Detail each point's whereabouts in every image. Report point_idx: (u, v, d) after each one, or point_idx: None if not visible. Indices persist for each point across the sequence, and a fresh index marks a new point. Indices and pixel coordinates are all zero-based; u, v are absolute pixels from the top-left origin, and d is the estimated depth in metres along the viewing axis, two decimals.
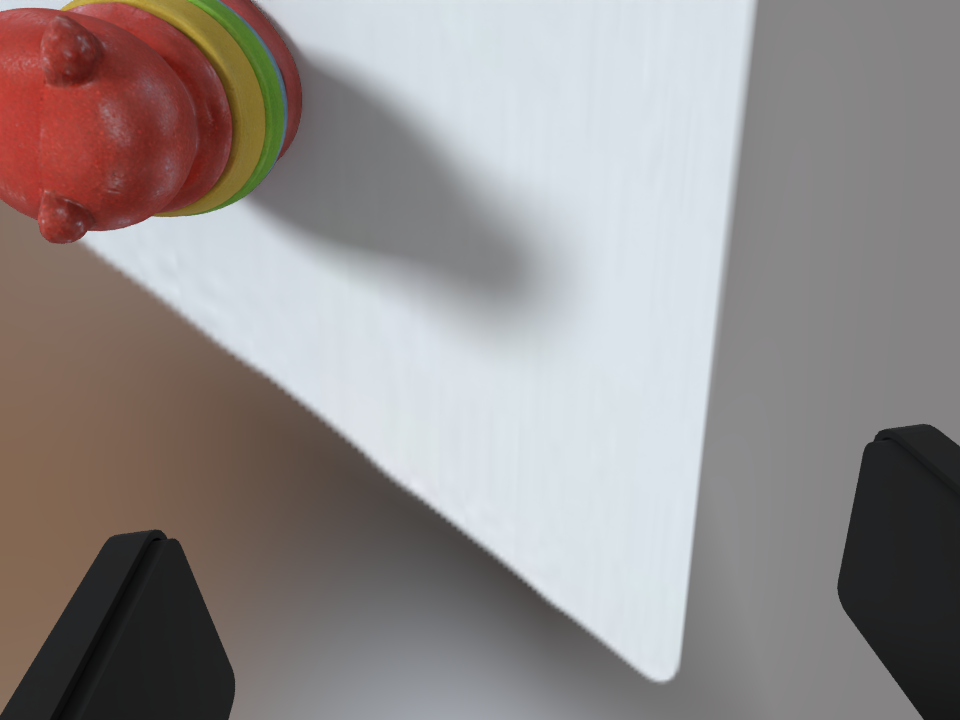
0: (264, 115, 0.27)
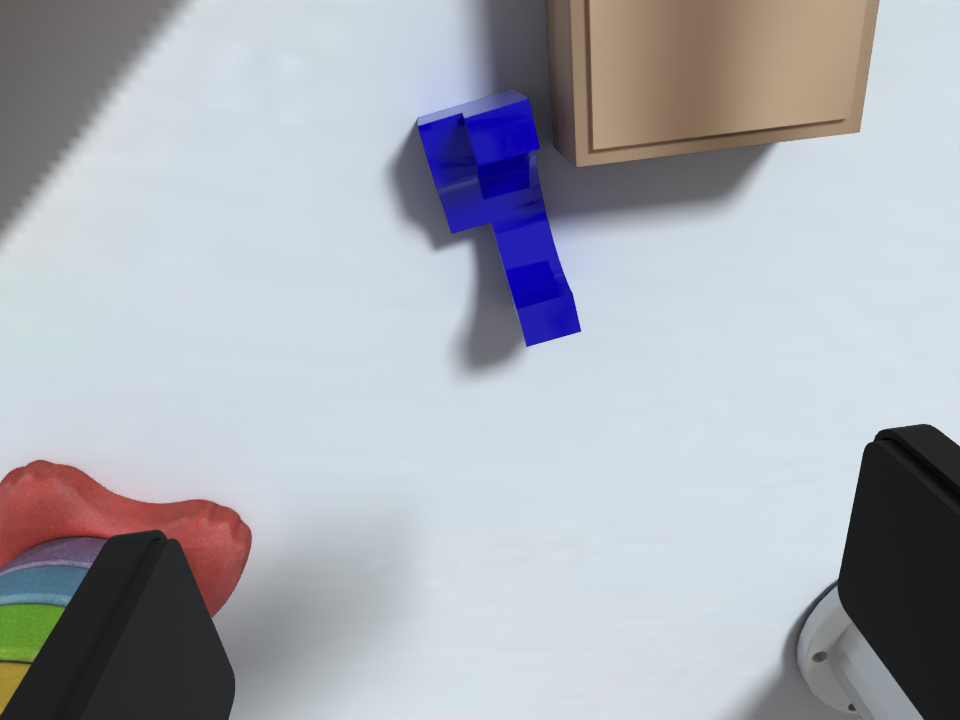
0: None
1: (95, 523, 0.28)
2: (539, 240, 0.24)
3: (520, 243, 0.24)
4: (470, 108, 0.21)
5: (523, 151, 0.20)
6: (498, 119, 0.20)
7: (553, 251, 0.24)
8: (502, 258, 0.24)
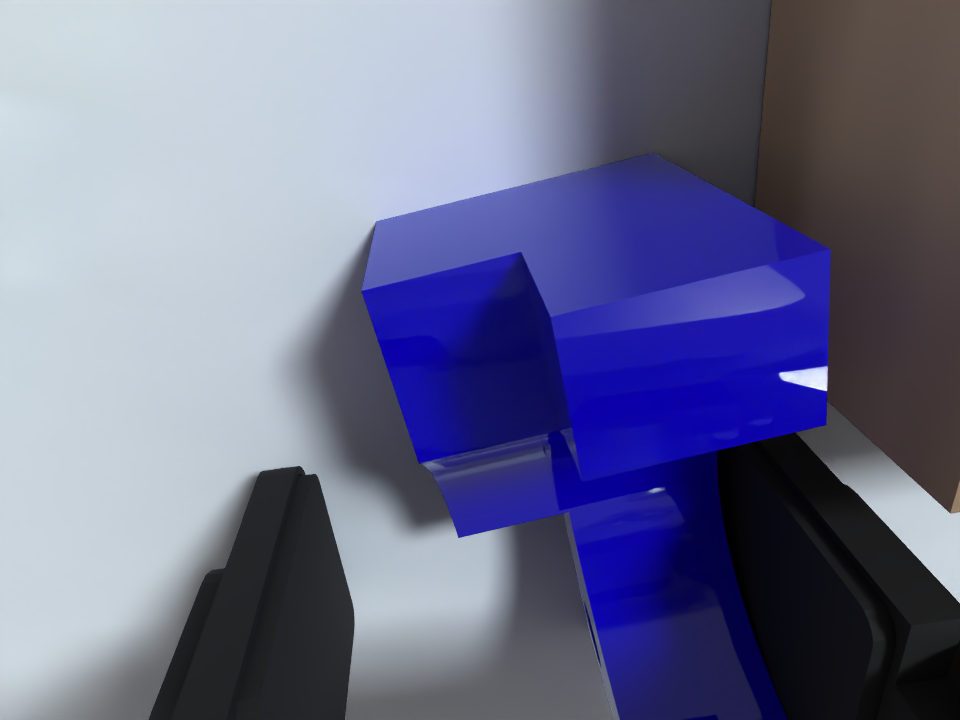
0: None
1: None
2: (695, 560, 0.09)
3: (641, 565, 0.09)
4: (547, 231, 0.06)
5: (763, 434, 0.05)
6: (688, 326, 0.05)
7: (731, 592, 0.09)
8: (592, 602, 0.09)
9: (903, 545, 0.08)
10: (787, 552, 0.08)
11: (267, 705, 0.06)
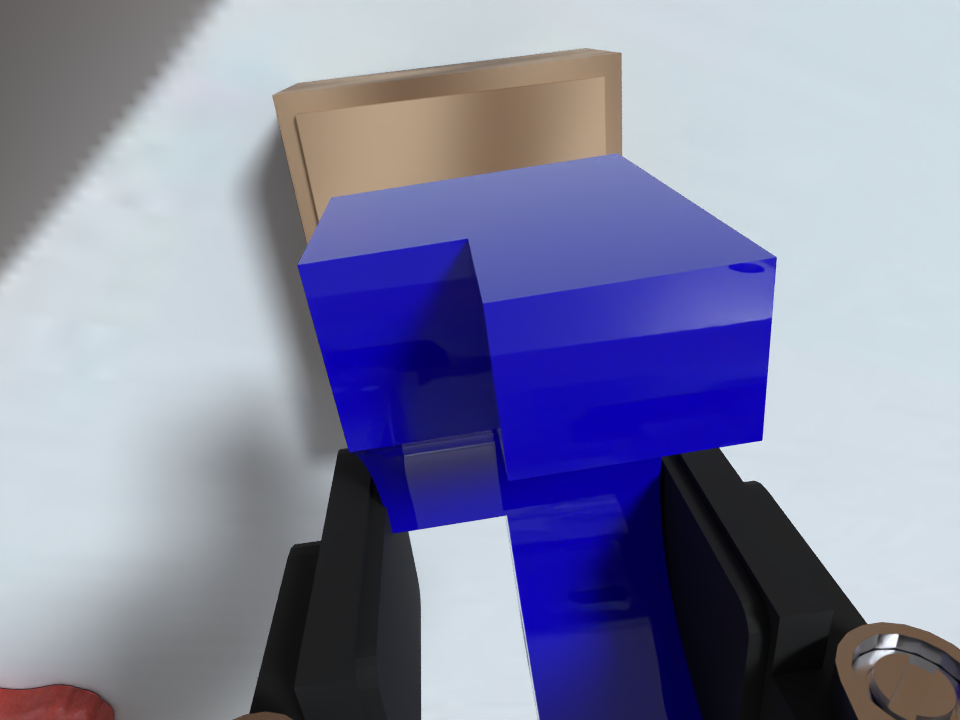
0: None
1: None
2: (631, 573, 0.09)
3: (577, 575, 0.09)
4: (498, 221, 0.06)
5: (697, 445, 0.05)
6: (626, 326, 0.05)
7: (665, 608, 0.09)
8: (524, 609, 0.09)
9: (803, 541, 0.08)
10: (689, 547, 0.08)
11: (379, 663, 0.06)
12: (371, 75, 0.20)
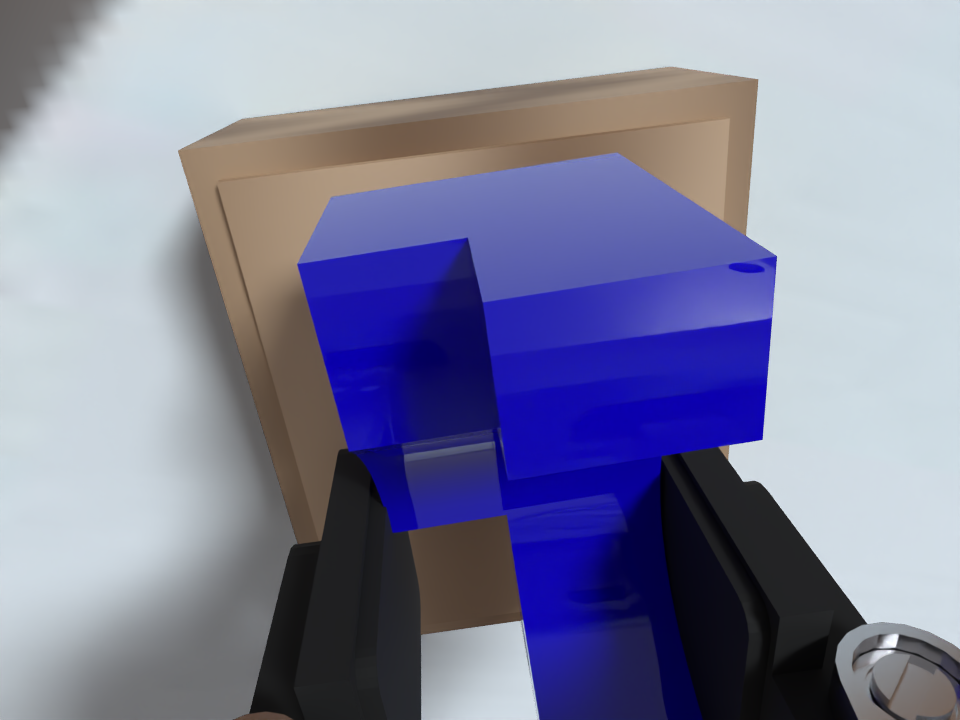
0: None
1: None
2: (631, 573, 0.09)
3: (577, 574, 0.09)
4: (498, 220, 0.06)
5: (697, 444, 0.05)
6: (626, 325, 0.05)
7: (665, 607, 0.09)
8: (524, 609, 0.09)
9: (803, 541, 0.08)
10: (689, 547, 0.08)
11: (380, 663, 0.06)
12: (350, 108, 0.13)
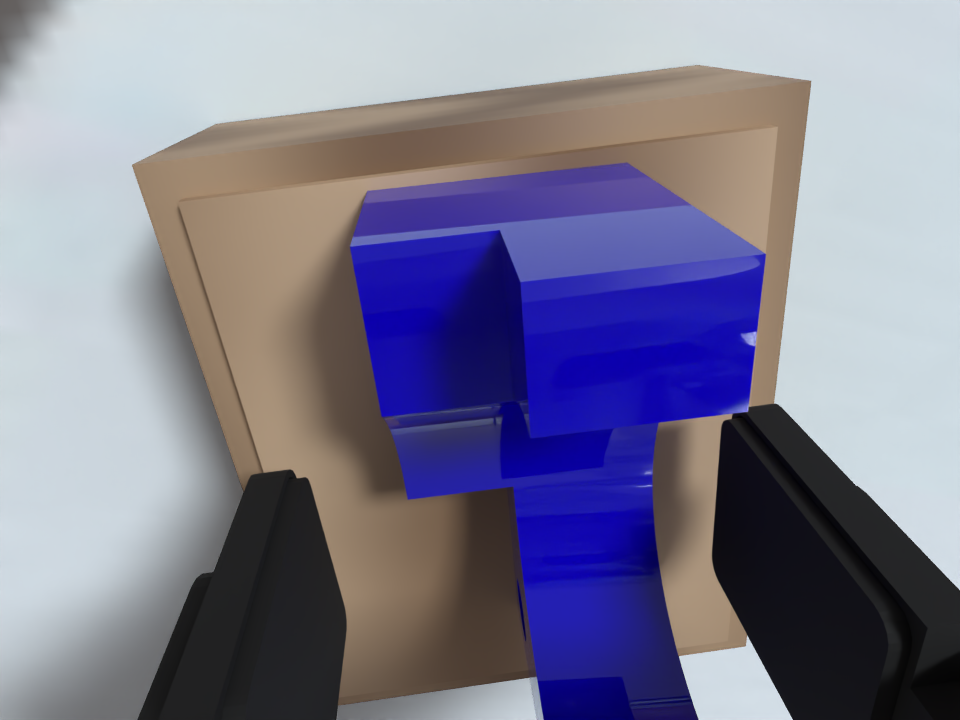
0: None
1: None
2: (623, 544, 0.10)
3: (575, 544, 0.10)
4: (525, 216, 0.07)
5: (693, 413, 0.06)
6: (638, 305, 0.05)
7: (653, 577, 0.10)
8: (525, 574, 0.10)
9: (915, 546, 0.08)
10: (799, 553, 0.07)
11: (253, 711, 0.06)
12: (338, 112, 0.12)
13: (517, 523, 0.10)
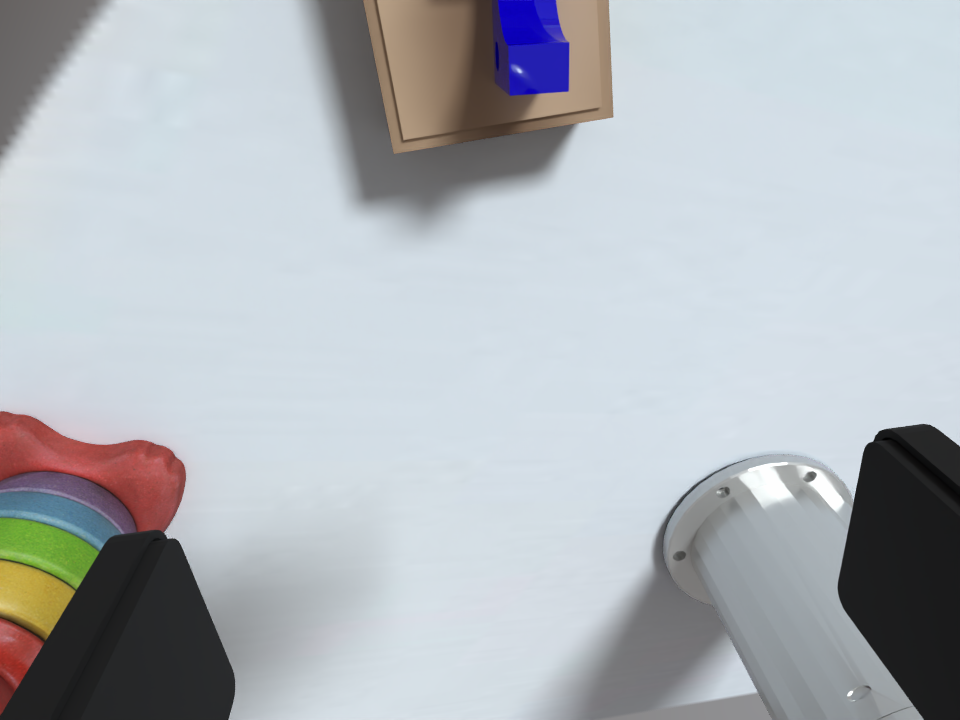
0: None
1: (50, 460, 0.34)
2: None
3: None
4: None
5: None
6: None
7: (553, 8, 0.23)
8: (499, 4, 0.22)
9: None
10: None
11: None
12: None
13: None
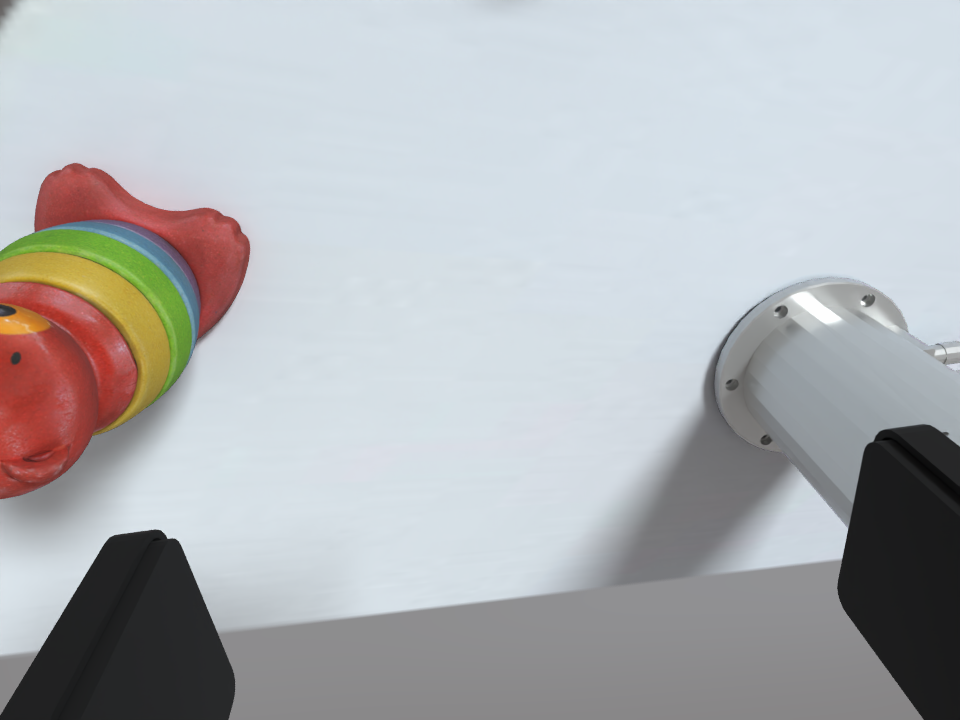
0: None
1: (122, 212, 0.34)
2: None
3: None
4: None
5: None
6: None
7: None
8: None
9: None
10: None
11: None
12: None
13: None
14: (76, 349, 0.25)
